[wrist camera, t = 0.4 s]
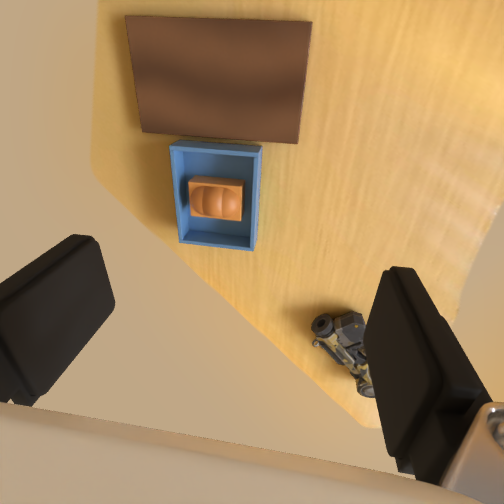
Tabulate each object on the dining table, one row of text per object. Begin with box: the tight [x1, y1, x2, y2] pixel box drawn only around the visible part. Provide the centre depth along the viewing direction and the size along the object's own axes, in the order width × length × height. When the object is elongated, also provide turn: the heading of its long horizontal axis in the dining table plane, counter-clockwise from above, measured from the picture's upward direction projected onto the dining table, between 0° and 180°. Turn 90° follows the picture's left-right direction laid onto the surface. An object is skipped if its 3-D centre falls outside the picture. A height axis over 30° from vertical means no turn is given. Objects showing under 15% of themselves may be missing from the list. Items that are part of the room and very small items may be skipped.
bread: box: [188, 175, 245, 221], centre depth 44 cm, size 5×8×5 cm
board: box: [125, 16, 312, 144], centre depth 38 cm, size 13×22×2 cm, turn 88°
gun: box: [311, 311, 375, 398], centre depth 57 cm, size 5×26×15 cm
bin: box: [169, 140, 262, 251], centre depth 45 cm, size 15×12×4 cm
